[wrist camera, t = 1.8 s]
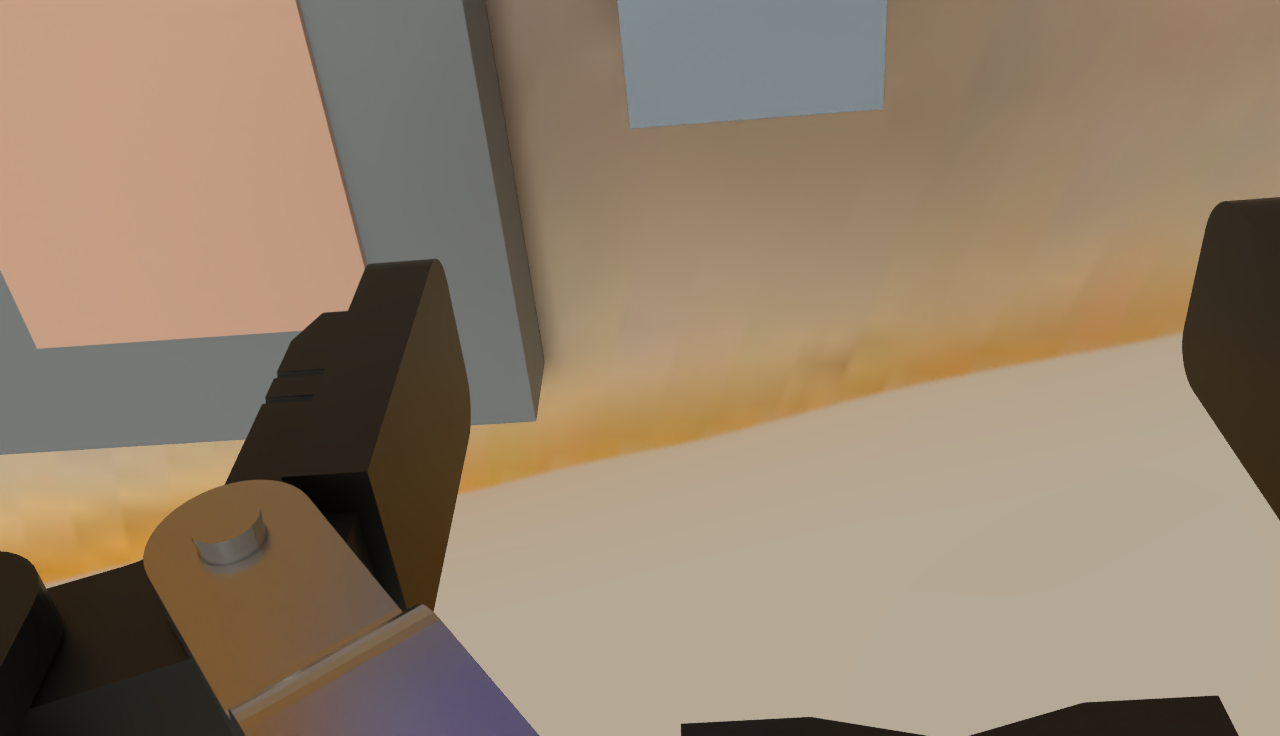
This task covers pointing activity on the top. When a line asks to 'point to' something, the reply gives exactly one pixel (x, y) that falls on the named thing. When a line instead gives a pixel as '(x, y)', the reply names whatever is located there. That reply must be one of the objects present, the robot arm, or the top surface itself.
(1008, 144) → the top surface
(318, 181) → the base plinth
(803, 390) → the top surface
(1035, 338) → the top surface
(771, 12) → the slate block
